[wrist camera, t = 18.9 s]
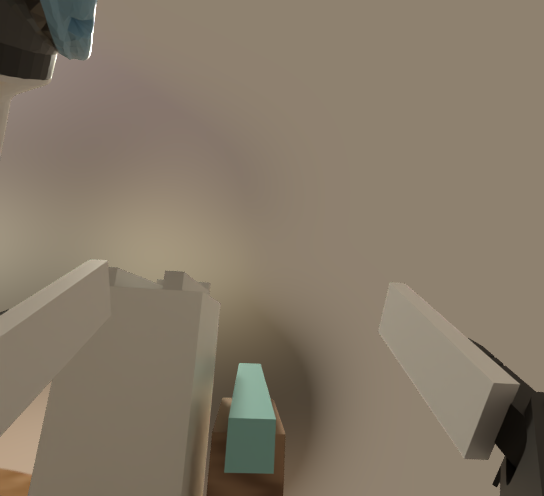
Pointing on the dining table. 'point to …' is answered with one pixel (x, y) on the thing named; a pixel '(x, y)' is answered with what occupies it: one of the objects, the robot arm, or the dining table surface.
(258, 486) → the brown rectangular block
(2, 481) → the dining table surface
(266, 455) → the bar
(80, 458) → the upright white panel
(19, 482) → the dining table surface
